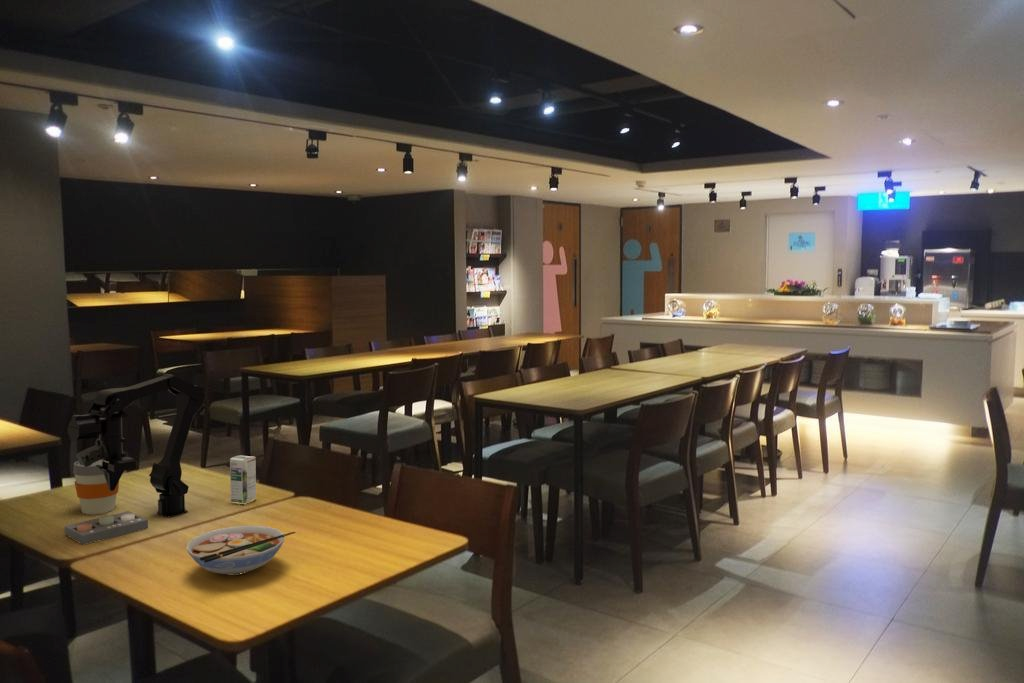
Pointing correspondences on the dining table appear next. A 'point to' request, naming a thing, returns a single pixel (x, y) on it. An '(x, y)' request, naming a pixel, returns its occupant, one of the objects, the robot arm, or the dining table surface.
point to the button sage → (106, 520)
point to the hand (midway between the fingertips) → (111, 490)
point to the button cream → (127, 517)
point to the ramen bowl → (235, 548)
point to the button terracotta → (84, 527)
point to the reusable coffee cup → (93, 489)
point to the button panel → (106, 528)
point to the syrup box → (243, 478)
